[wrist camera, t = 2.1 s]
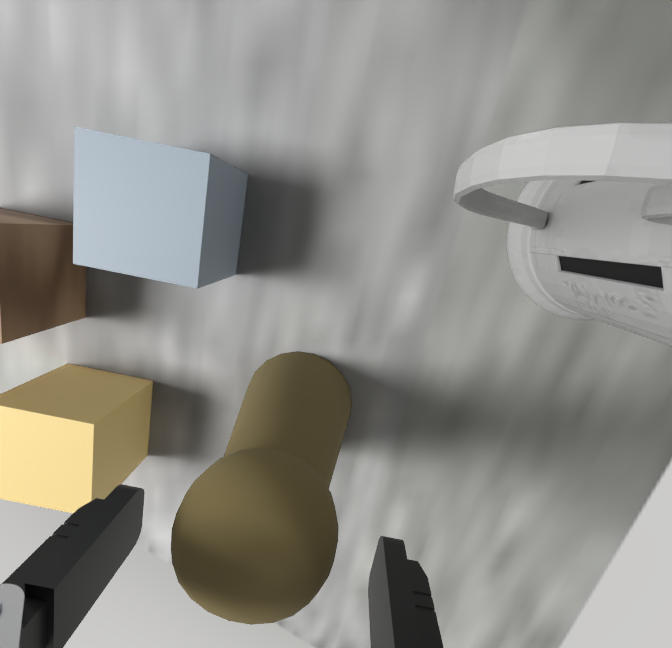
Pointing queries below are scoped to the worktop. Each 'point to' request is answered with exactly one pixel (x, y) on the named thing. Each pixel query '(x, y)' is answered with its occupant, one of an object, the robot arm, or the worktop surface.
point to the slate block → (155, 210)
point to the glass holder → (585, 219)
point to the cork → (267, 497)
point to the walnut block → (37, 275)
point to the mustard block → (72, 436)
